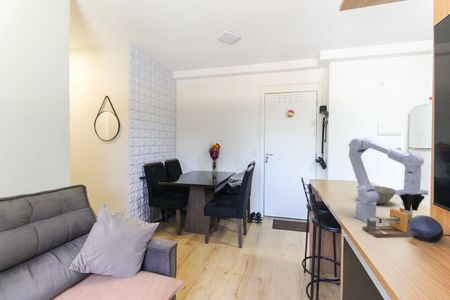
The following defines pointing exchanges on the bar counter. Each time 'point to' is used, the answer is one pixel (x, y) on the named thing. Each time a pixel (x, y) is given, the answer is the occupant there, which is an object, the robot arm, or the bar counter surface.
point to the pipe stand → (385, 228)
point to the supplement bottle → (406, 210)
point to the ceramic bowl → (384, 194)
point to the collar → (403, 220)
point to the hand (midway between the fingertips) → (410, 210)
